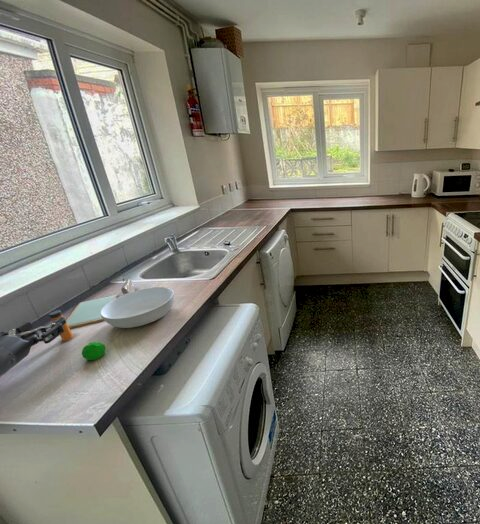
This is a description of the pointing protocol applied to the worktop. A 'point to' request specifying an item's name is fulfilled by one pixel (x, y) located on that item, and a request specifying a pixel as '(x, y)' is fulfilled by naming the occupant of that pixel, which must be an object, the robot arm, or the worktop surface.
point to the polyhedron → (93, 351)
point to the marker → (67, 333)
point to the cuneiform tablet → (128, 286)
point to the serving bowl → (138, 307)
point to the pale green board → (88, 312)
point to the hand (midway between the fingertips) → (46, 321)
